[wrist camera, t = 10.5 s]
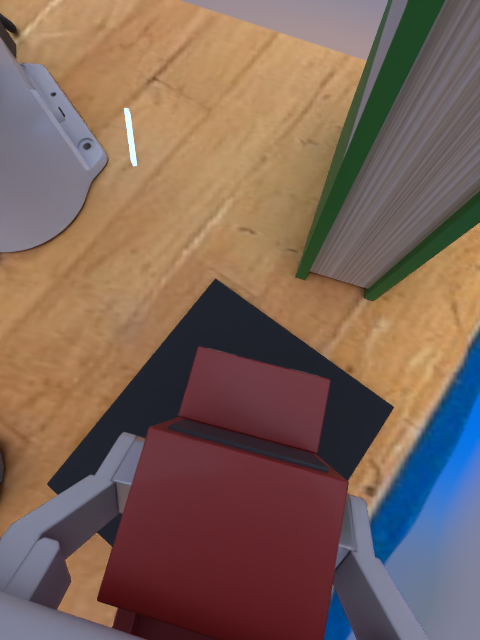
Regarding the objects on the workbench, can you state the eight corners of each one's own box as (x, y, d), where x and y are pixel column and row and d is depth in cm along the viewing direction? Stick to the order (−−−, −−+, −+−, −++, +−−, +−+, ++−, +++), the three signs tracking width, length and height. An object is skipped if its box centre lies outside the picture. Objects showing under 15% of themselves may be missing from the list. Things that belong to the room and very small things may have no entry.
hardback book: (373, 301, 29) (938, -119, 5) (295, 277, 29) (484, -187, 6) (413, 145, 32) (843, -503, 9) (343, 127, 33) (573, -516, 10)
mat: (49, 483, 26) (46, 484, 25) (215, 280, 29) (215, 278, 29) (233, 658, 23) (233, 662, 22) (392, 407, 26) (394, 407, 26)
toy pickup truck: (255, 692, 13) (268, 1148, 5) (122, 648, 13) (-51, 1006, 6) (315, 383, 16) (383, 372, 8) (204, 355, 16) (165, 319, 8)
